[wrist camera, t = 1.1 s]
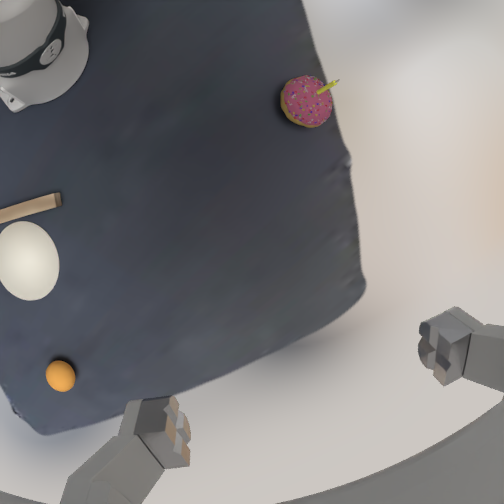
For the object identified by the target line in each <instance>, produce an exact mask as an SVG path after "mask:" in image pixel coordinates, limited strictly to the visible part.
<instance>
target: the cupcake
mask: <svg viewBox="0 0 504 504" xmlns="http://www.w3.org/2000/svg"><path fill="white" fill-rule="evenodd" d="M338 81H339V79H338V80H337V81H335V80H334V81H332V82H331V83H329V84H327V85H326V86H325V85H324V84H323V82H321V80H320V81H319V79H317V78H314V77H313V76H308V75H304V76H301V77H297V78H294V79H291V80H289V81H288V82H287V83H286V85H285V86H284V88H283V90H282V91H281V108H282V110H283V111H284V113H285V115H286V117H287V118H288V119H289V120H291V121H292V122H294V123H296V124H298V125H302V126H305V127H308V128H312V127H317V126H319V125H321V124H322V123H323V122H326V120H327V119H328V117H330V113H331V111H332V104H333V103H332V102H333V101H332V99H331V94H330V93H329V91H328V89H329V88H331V87H333V86H334V85H336V84H337V82H338Z"/></svg>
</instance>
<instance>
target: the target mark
mask: <svg viewBox="0 0 504 504" xmlns="http://www.w3.org/2000/svg"><path fill="white" fill-rule="evenodd" d="M58 275H59V257H58V253H57V249H56V247H55V244H54V242H53V241H52V239H51V237H50V236H49V235H48V234H47V232H46V231H45V230H43V229H42V228H41V227H40V226H38V225H36V224H34V223H31V222H27V221H19V222H15V223H13V224H11V225H9V226H7V227H6V228H5V229H4V230H3V231H2V232H1V234H0V280H1V282H2V284H3V285H4V286H5V288H6V289H7V290H8V291H9V292H10V293H12V294H13V295H15V296H16V297H18V298H21V299H24V300H37V299H40V298H42V297H44V296H46V295H47V294H48V293H49V292H50V291H51V290H52V289H53V287H54V285H55V284H56V281H57V278H58Z"/></svg>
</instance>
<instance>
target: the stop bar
mask: <svg viewBox="0 0 504 504" xmlns="http://www.w3.org/2000/svg"><path fill="white" fill-rule="evenodd" d="M58 206H62V203H61V197H60V193H53V194H50V195H46V196H43V197H39V198H36V199H33V200H29V201H26V202H23V203H20V204H17V205H13V206H10V207H7V208H4V209H1V210H0V224H1V223H4V222H7V221H10V220H13V219H16V218H20V217H23V216H26V215H30V214H33V213H37V212H40V211H44V210H47V209H51V208H55V207H58Z"/></svg>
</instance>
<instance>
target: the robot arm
mask: <svg viewBox="0 0 504 504" xmlns="http://www.w3.org/2000/svg"><path fill="white" fill-rule="evenodd" d="M88 26H89V21H88V19H87V18H86V17H83V16H79V15H76V14H75V12H74V10H73V9H72V8H71V7H70V6H68V7H66V6H62V4H61V3H60V1H59V0H0V97H1V98H2V100H3V101H4V102H5V104H6V105H7V106H8V108H9V109H10V110H11V111H12V112H19V111H21V110H23V109H24V108H26V107H28V106H29V105H33V104H41V103H45V102H48V101H51V100H53V99H55V98H57V97H59V96H60V95H62V94H63V93H65V92H66V91H67V90H68V89H69V88H70V87H71V86H72V85H73V84H74V83H75V82H76V81H77V79H78V78H79V77H80V75H81V74H82V72H83V70H84V68H85V65H86V63H87V59H88V54H89V46H88V41H87V37H86V34H87V30H88ZM12 99H14V101H13V102H12ZM419 334H420V335H421V336H422V338H421V340H420V342H419V344H418V353H419V357H420V360H421V362H422V363H423V364H424V366H425V367H426V368H428V369H432V370H434V373H433V376H434V377H435V378H436V379H437V380H438V381H439V382H440V383H441V384H442V385H443V386H446V385H448V384H450V383H452V382H453V381H455V380H457V379H459V378H461V377H463V378H466V379H468V380H471V381H473V382H476V383H479V384H482V385H484V386H487V387H490V388H493V389H495V390H498V391H501V392H504V326H499V325H492V324H486V325H483V324H482V323H480V322H479V321H478V320H476V319H475V318H474V317H472V316H470V315H469V314H468V313H466V312H465V311H463V310H462V309H461V308H459V307H455V306H454V307H452V308H450V309H448V310H447V311H444V312H443V313H441V314H439V315H437V316H435V317H432V318H430V319H428V320H426V321H424V322H421V325H420V327H419ZM178 409H179V403H178V401H177V400H176V398H175V397H174V396H172V395H171V396H164V397H156V398H148V399H141V400H131V401H129V402H128V403H127V406H126V409H125V412H124V416H123V420H122V423H121V426H120V430H119V433H118V436H114V437H112V438H111V439H110V440H109V441H108V442H107V443H106V444H105V445H104V446H103V447H102V448H100V449H99V450H98V451H97V452H96V453H95V454H94V455H93V456H92V457H91V458H89V459H88V460H87V461H86V462H85V463H84V464H83V465H82V466H81V467H80V468H79V469H77V470H76V471H75V472H74V473H73V474H72V475H70V476H69V477H68V480H67V483H66V486H65V489H64V492H63V495H62V499H61V502H60V504H141V503H142V502H143V501H144V499H145V498H146V496H147V495H148V494H149V492H150V491H151V489H152V488H153V486H154V485H155V484H156V482H157V481H158V479H159V478H160V476H161V475H162V474H163V472H164V469H171V468H180V467H187V466H189V465H190V449H189V448H188V446H187V444H188V442H189V441H190V439H191V432H190V426H189V423H188V420H187V418H186V416H185V414H184V413H182V412H181V411H179V410H178ZM0 504H46V503H41V502H37V501H33V500H29V499H26V498H22V497H19V496H15V495H12V494H8V493H5V492H2V491H0ZM277 504H504V396H503V399H502V401H501V402H500V403H498V404H497V405H496V406H494V407H493V408H491V409H490V410H489V411H487V412H486V413H484V414H483V415H482V416H480V417H479V418H478V419H476V420H474V421H473V422H471V423H470V424H468V425H467V426H465V427H463V428H462V429H460V430H459V431H457V432H455V433H454V434H452V435H450V436H449V437H447V438H445V439H444V440H442V441H440V442H438V443H437V444H435V445H433V446H431V447H429V448H427V449H425V450H424V451H422V452H420V453H418V454H416V455H414V456H412V457H410V458H408V459H406V460H403V461H401V462H399V463H397V464H395V465H393V466H390V467H389V468H386V469H384V470H381V471H379V472H376V473H374V474H371V475H369V476H367V477H364V478H361V479H359V480H356V481H354V482H351V483H348V484H345V485H342V486H339V487H336V488H333V489H330V490H326V491H323V492H320V493H316V494H313V495H309V496H306V497H302V498H298V499H294V500H290V501H286V502H281V503H277Z"/></svg>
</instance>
